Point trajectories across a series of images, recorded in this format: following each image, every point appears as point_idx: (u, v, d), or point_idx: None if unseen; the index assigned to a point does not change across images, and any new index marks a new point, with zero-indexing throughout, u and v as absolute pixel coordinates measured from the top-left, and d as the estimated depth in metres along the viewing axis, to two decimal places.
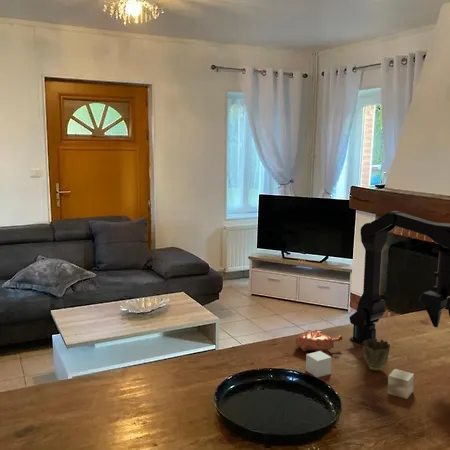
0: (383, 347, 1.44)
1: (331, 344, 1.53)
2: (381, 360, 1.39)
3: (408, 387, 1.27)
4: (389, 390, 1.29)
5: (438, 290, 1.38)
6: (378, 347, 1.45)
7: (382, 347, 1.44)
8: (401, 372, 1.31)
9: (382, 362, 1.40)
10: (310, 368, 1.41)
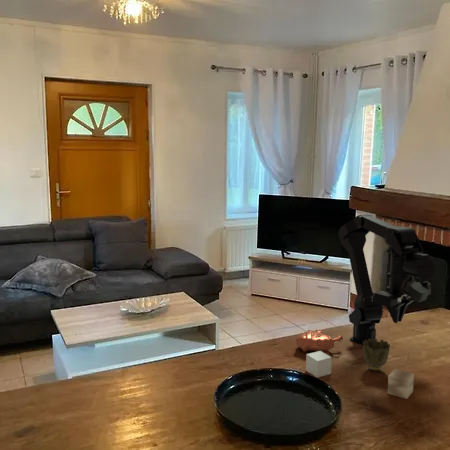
0: (383, 347, 1.44)
1: (331, 344, 1.53)
2: (381, 360, 1.39)
3: (408, 387, 1.27)
4: (389, 390, 1.29)
5: (390, 290, 1.45)
6: (378, 347, 1.45)
7: (382, 347, 1.44)
8: (401, 372, 1.31)
9: (382, 362, 1.40)
10: (310, 368, 1.41)
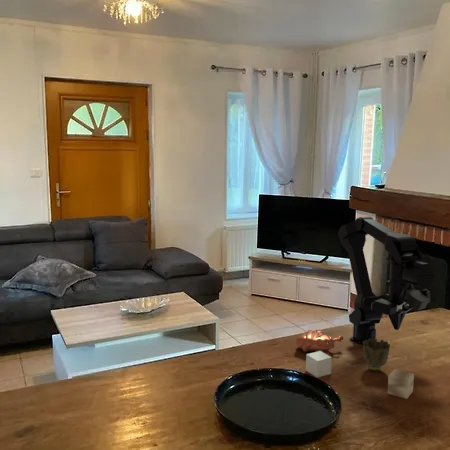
0: (383, 347, 1.44)
1: (332, 344, 1.53)
2: (381, 360, 1.39)
3: (408, 387, 1.27)
4: (389, 390, 1.29)
5: (390, 298, 1.45)
6: (378, 347, 1.45)
7: (382, 347, 1.44)
8: (401, 372, 1.31)
9: (382, 362, 1.40)
10: (310, 368, 1.41)
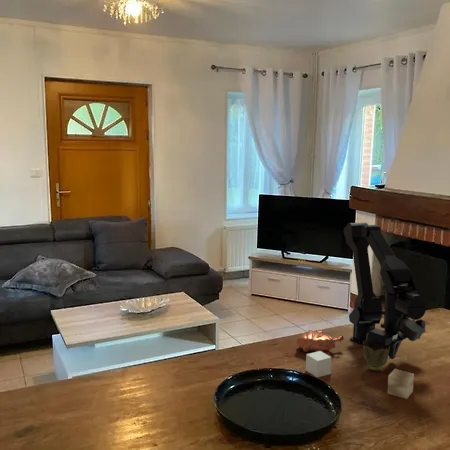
0: (383, 347, 1.44)
1: (332, 344, 1.53)
2: (381, 360, 1.39)
3: (408, 387, 1.27)
4: (389, 390, 1.29)
5: (385, 327, 1.46)
6: (378, 347, 1.45)
7: (382, 347, 1.44)
8: (401, 372, 1.31)
9: (382, 362, 1.40)
10: (310, 368, 1.41)
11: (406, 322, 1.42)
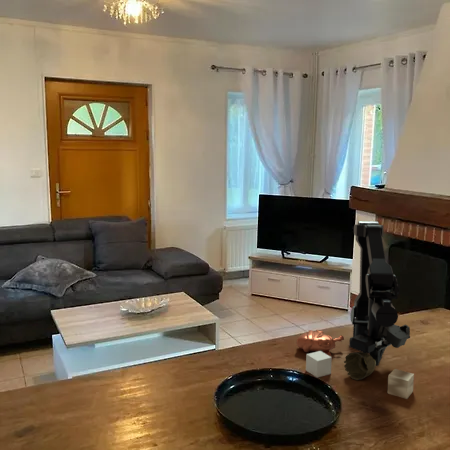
0: None
1: (333, 344, 1.53)
2: None
3: (408, 387, 1.27)
4: (389, 390, 1.29)
5: (369, 333, 1.41)
6: None
7: None
8: (401, 372, 1.31)
9: None
10: (310, 368, 1.41)
11: (390, 328, 1.37)
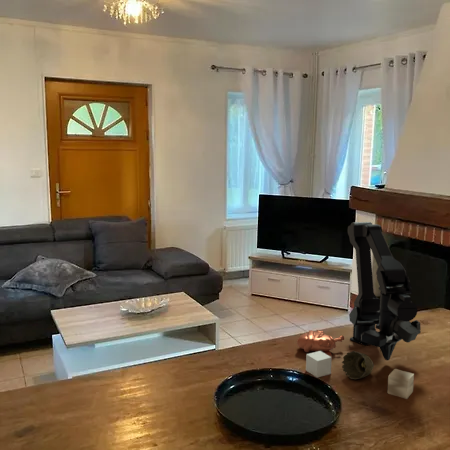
0: (359, 353, 1.38)
1: (333, 344, 1.53)
2: (369, 373, 1.36)
3: (408, 387, 1.27)
4: (389, 390, 1.29)
5: (380, 328, 1.44)
6: (355, 353, 1.39)
7: (358, 353, 1.38)
8: (401, 372, 1.31)
9: (371, 371, 1.37)
10: (310, 368, 1.41)
11: (401, 323, 1.41)
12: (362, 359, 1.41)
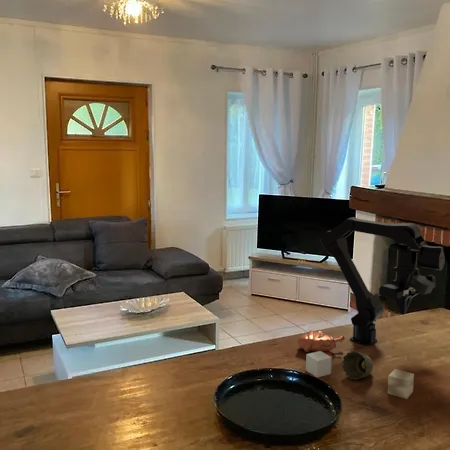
0: (359, 353, 1.38)
1: (334, 344, 1.52)
2: (369, 373, 1.36)
3: (408, 387, 1.27)
4: (389, 390, 1.29)
5: (397, 283, 1.52)
6: (355, 353, 1.39)
7: None
8: (401, 372, 1.31)
9: None
10: (310, 368, 1.41)
11: (417, 277, 1.48)
12: (362, 359, 1.41)
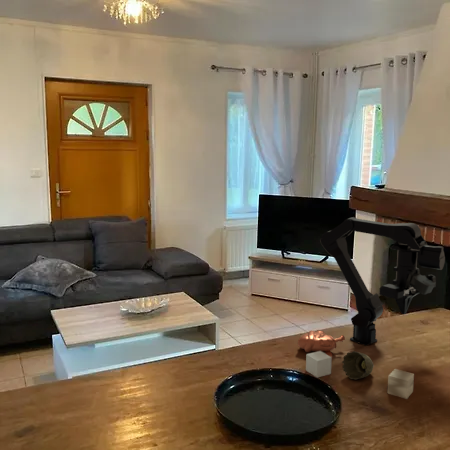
0: (359, 353, 1.38)
1: (334, 344, 1.52)
2: (369, 373, 1.36)
3: (408, 387, 1.27)
4: (389, 390, 1.29)
5: (397, 283, 1.52)
6: (355, 353, 1.39)
7: None
8: (401, 372, 1.31)
9: None
10: (310, 368, 1.41)
11: (417, 277, 1.49)
12: (362, 359, 1.41)
